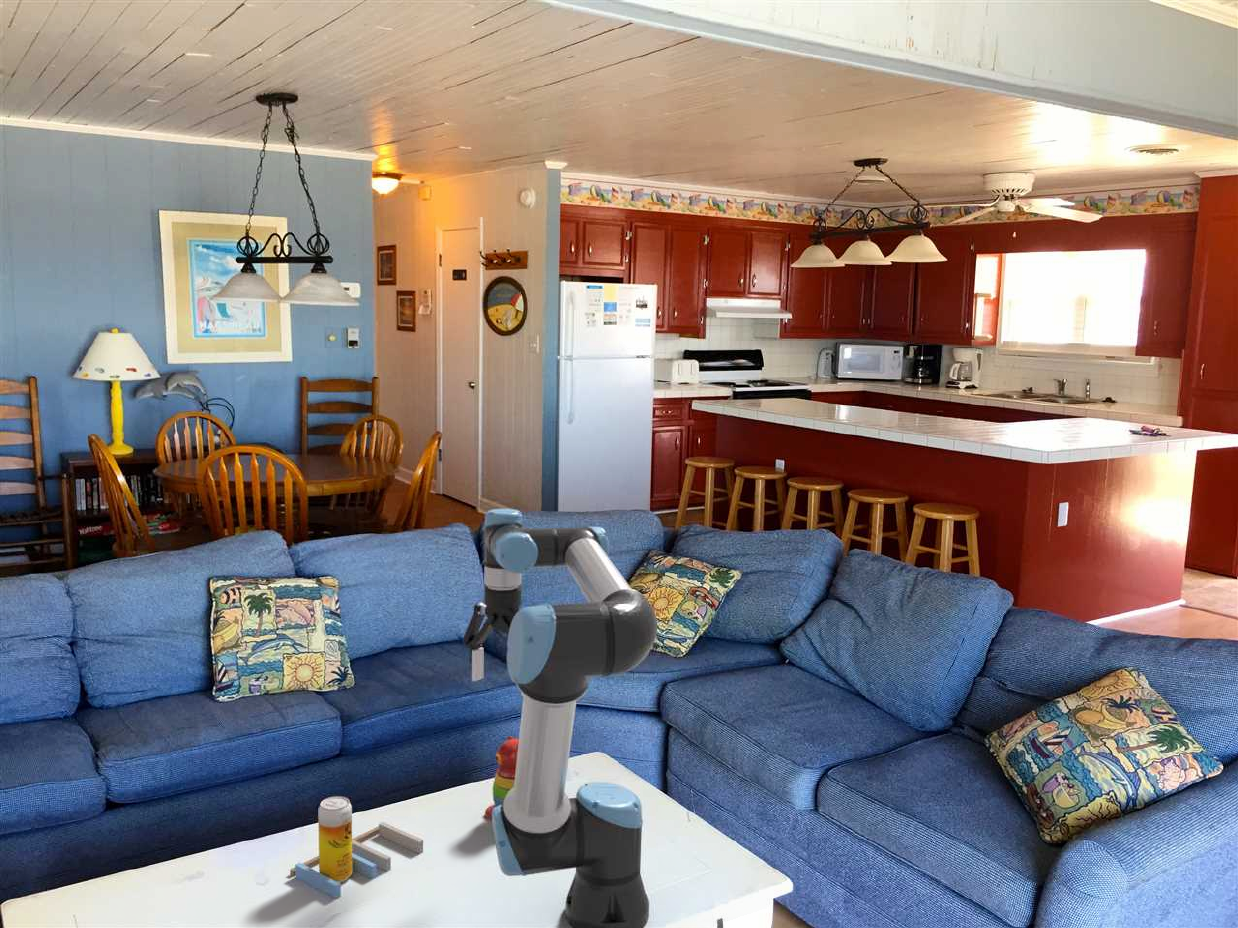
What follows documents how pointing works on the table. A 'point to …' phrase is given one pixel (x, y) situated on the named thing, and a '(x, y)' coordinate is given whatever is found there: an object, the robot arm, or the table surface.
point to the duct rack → (359, 859)
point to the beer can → (335, 838)
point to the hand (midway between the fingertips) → (502, 686)
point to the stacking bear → (504, 773)
